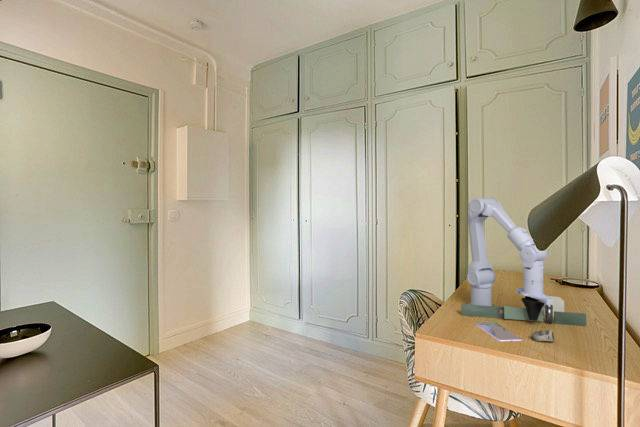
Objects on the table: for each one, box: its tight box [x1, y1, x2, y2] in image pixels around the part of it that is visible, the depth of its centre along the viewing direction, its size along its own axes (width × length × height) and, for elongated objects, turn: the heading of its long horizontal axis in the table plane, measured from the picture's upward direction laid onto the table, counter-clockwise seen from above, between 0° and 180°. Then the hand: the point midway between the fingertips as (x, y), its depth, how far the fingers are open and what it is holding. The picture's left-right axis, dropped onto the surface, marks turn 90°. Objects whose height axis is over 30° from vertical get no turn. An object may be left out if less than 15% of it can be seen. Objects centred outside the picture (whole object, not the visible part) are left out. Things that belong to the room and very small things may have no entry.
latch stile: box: [460, 303, 505, 320], centre depth 119 cm, size 1×15×4 cm, turn 74°
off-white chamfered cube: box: [542, 295, 565, 317], centre depth 121 cm, size 6×6×6 cm
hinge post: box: [544, 305, 587, 327], centre depth 110 cm, size 2×12×7 cm, turn 74°
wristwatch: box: [531, 329, 555, 343], centre depth 97 cm, size 4×6×5 cm
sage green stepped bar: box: [502, 304, 544, 322], centre depth 114 cm, size 12×2×4 cm, turn 74°
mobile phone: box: [475, 321, 523, 342], centre depth 104 cm, size 8×1×15 cm
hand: (533, 319), depth 109 cm, fingers closed
